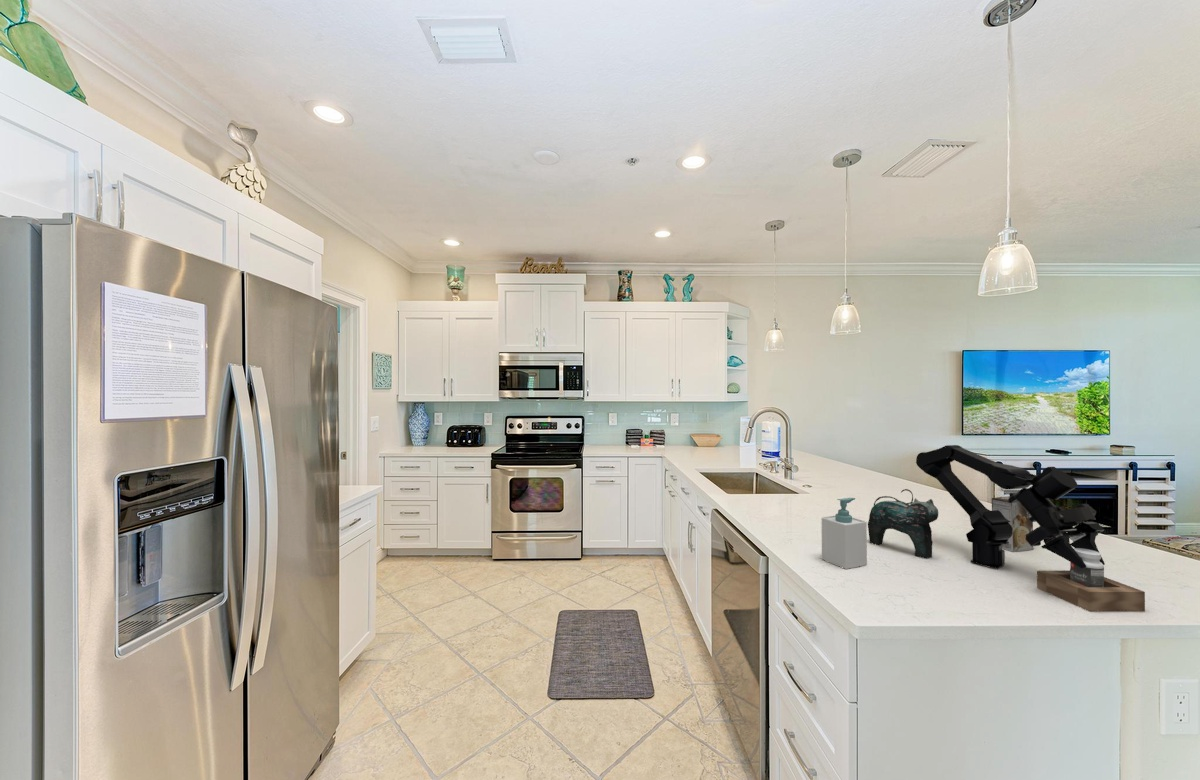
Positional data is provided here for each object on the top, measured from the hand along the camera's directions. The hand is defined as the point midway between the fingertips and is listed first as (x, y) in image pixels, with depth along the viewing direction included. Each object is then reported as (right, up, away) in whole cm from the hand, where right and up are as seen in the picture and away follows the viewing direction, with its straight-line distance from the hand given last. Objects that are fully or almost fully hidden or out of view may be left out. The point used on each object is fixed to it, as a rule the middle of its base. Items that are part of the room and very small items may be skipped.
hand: (1093, 566), depth 111 cm
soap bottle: (-47, -9, +26) cm, 54 cm away
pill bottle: (0, -7, +1) cm, 7 cm away
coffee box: (+14, -9, +38) cm, 42 cm away
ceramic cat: (-23, -9, +36) cm, 44 cm away
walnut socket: (0, -8, +1) cm, 8 cm away
